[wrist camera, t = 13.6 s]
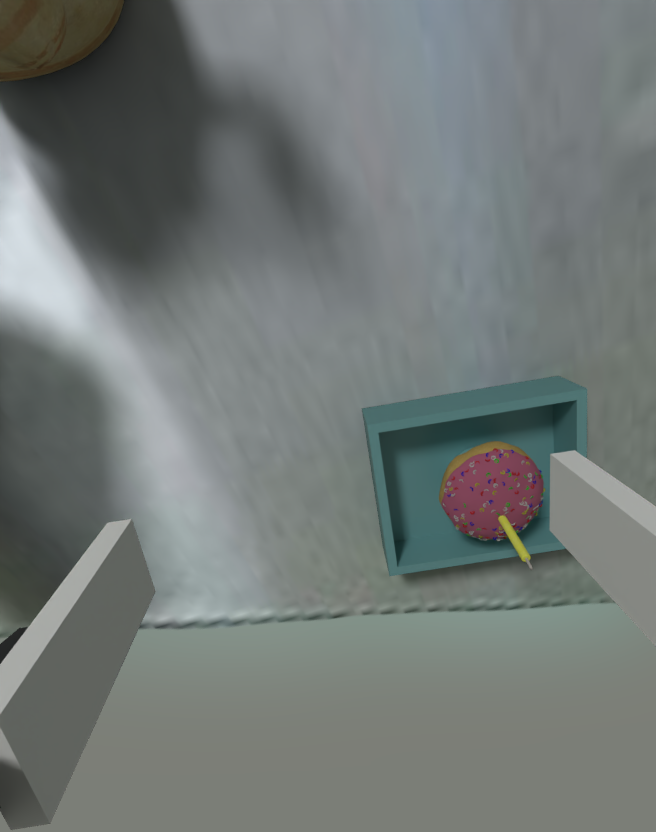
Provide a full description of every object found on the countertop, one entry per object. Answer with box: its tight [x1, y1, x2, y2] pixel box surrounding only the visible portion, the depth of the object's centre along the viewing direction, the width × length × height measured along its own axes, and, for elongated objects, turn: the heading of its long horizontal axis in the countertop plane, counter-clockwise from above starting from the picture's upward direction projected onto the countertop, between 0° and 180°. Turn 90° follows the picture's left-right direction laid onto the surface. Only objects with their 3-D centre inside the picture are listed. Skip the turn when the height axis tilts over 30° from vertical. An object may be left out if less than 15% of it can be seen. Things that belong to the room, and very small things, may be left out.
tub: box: [362, 376, 587, 576], centre depth 41 cm, size 18×15×4 cm
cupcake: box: [439, 441, 545, 570], centre depth 37 cm, size 9×8×12 cm
